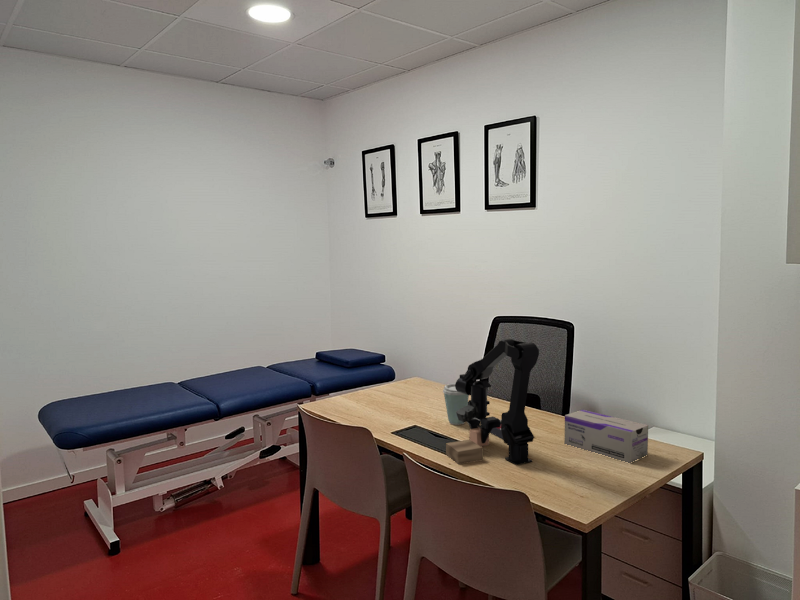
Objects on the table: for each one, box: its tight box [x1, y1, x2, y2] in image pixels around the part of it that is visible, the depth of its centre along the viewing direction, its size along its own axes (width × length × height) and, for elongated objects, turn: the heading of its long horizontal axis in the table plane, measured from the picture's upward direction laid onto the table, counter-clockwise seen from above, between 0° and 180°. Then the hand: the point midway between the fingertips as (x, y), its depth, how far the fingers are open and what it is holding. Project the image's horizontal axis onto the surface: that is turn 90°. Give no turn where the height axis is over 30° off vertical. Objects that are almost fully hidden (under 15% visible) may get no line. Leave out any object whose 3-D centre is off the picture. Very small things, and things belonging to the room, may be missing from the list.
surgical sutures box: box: [564, 409, 649, 464], centre depth 201 cm, size 25×11×11 cm, turn 39°
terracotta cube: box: [468, 428, 490, 447], centre depth 209 cm, size 5×5×5 cm
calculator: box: [490, 418, 531, 441], centre depth 221 cm, size 11×4×15 cm
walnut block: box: [445, 439, 484, 465], centre depth 196 cm, size 9×9×4 cm
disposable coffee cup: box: [442, 383, 470, 426], centre depth 234 cm, size 11×11×15 cm
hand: (479, 440), depth 209 cm, fingers closed on terracotta cube, 5 cm apart
